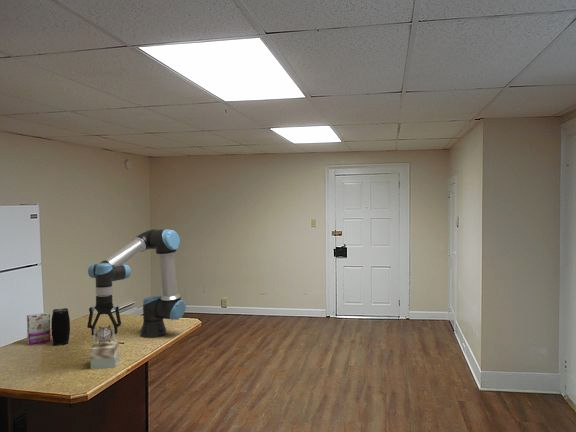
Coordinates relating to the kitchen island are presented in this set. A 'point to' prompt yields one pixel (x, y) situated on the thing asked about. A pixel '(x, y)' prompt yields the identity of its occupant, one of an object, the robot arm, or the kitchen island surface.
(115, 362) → the lower block
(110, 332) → the game die
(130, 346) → the kitchen island surface
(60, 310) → the portable speaker
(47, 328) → the candy bar box
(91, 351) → the upper block
